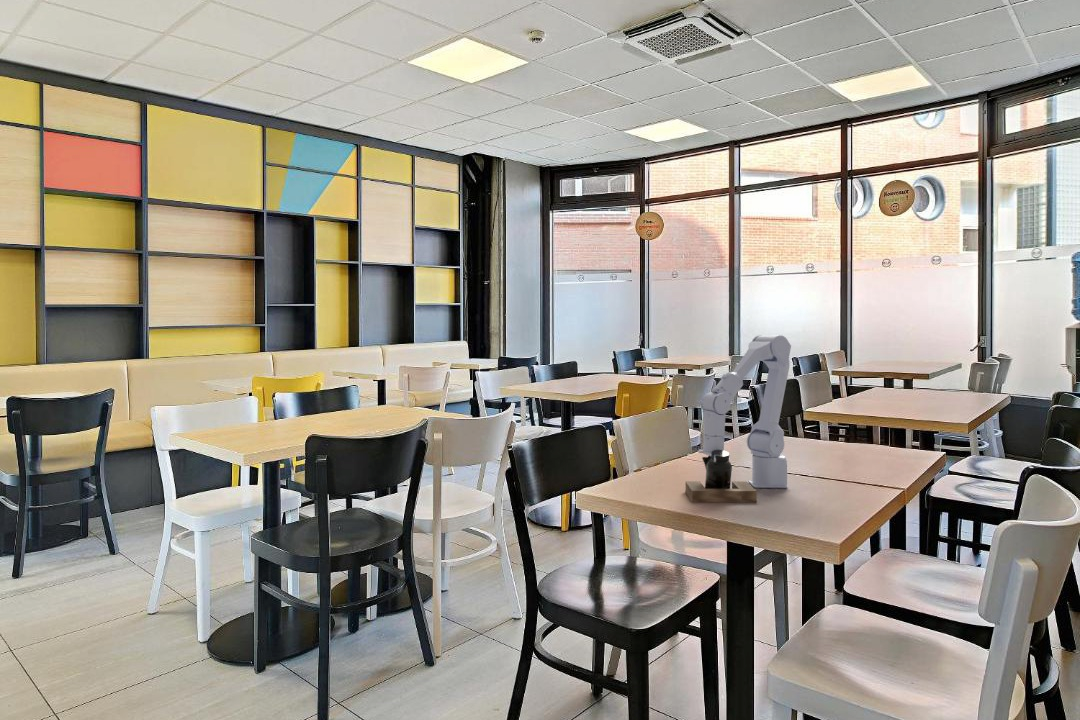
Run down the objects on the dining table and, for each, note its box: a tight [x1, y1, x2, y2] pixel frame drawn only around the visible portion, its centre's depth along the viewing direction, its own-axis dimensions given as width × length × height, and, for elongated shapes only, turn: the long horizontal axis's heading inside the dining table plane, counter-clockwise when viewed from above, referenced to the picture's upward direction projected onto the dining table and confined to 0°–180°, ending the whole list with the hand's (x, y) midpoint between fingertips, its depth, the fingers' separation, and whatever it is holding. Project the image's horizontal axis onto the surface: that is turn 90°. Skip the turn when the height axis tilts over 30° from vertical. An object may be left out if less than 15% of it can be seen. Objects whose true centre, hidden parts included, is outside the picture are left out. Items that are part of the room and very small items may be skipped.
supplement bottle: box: [704, 449, 733, 489], centre depth 193 cm, size 7×7×12 cm
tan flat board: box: [685, 480, 758, 503], centre depth 192 cm, size 17×12×3 cm
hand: (711, 482), depth 197 cm, fingers closed, pressing on supplement bottle
